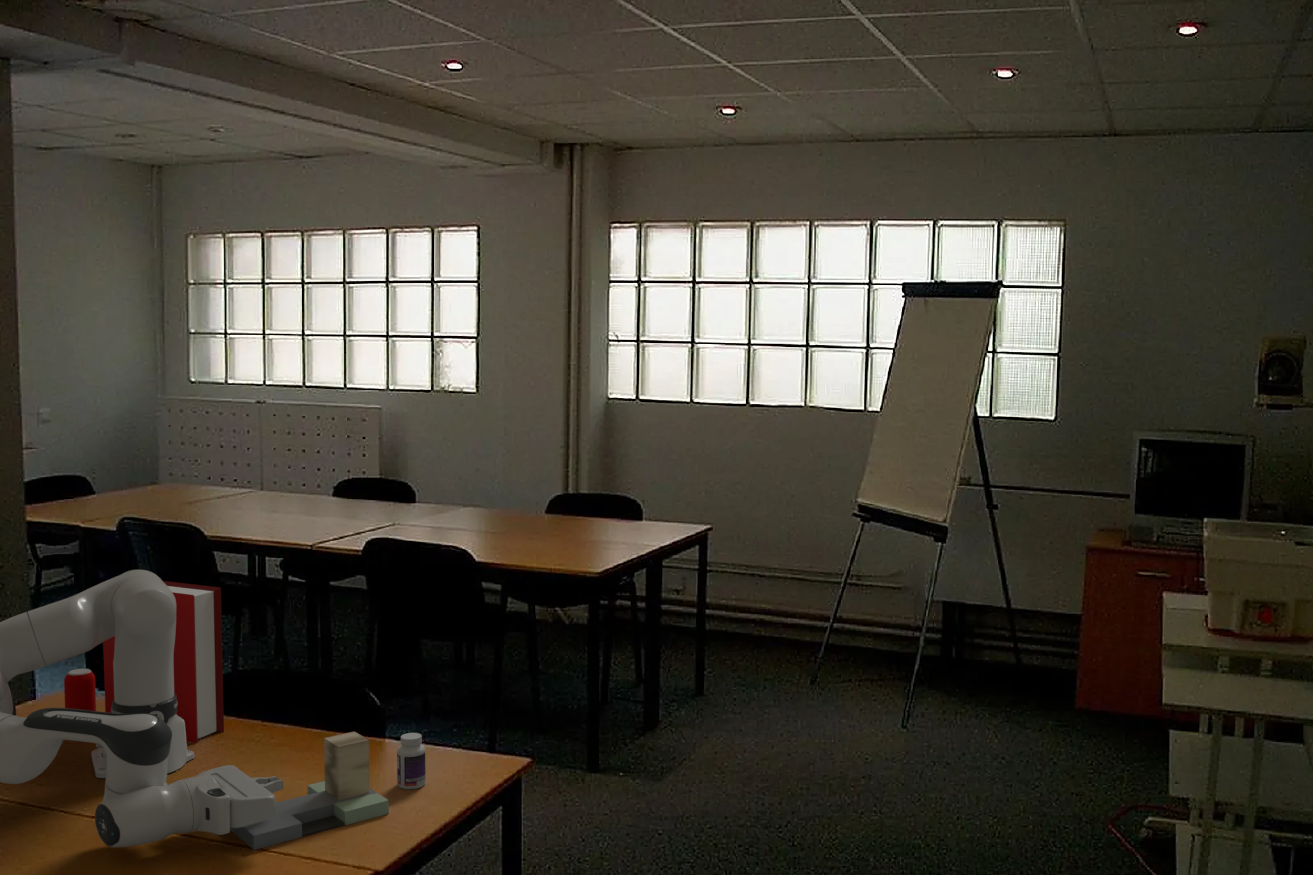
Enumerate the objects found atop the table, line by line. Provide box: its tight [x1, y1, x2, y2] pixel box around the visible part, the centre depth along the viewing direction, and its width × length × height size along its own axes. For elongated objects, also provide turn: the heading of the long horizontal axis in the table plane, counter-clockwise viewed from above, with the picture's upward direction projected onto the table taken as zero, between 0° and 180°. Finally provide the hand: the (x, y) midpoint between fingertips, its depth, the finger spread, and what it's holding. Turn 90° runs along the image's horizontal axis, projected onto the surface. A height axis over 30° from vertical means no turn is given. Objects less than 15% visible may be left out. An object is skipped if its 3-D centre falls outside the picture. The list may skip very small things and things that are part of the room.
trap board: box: [230, 780, 390, 851], centre depth 217 cm, size 16×25×2 cm, turn 130°
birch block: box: [323, 731, 370, 800], centre depth 222 cm, size 6×6×10 cm
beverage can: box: [63, 668, 97, 711], centre depth 266 cm, size 6×6×12 cm
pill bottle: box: [396, 732, 427, 790], centre depth 232 cm, size 5×5×10 cm
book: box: [102, 580, 225, 744], centre depth 262 cm, size 27×8×32 cm, turn 67°
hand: (280, 782), depth 213 cm, fingers closed
